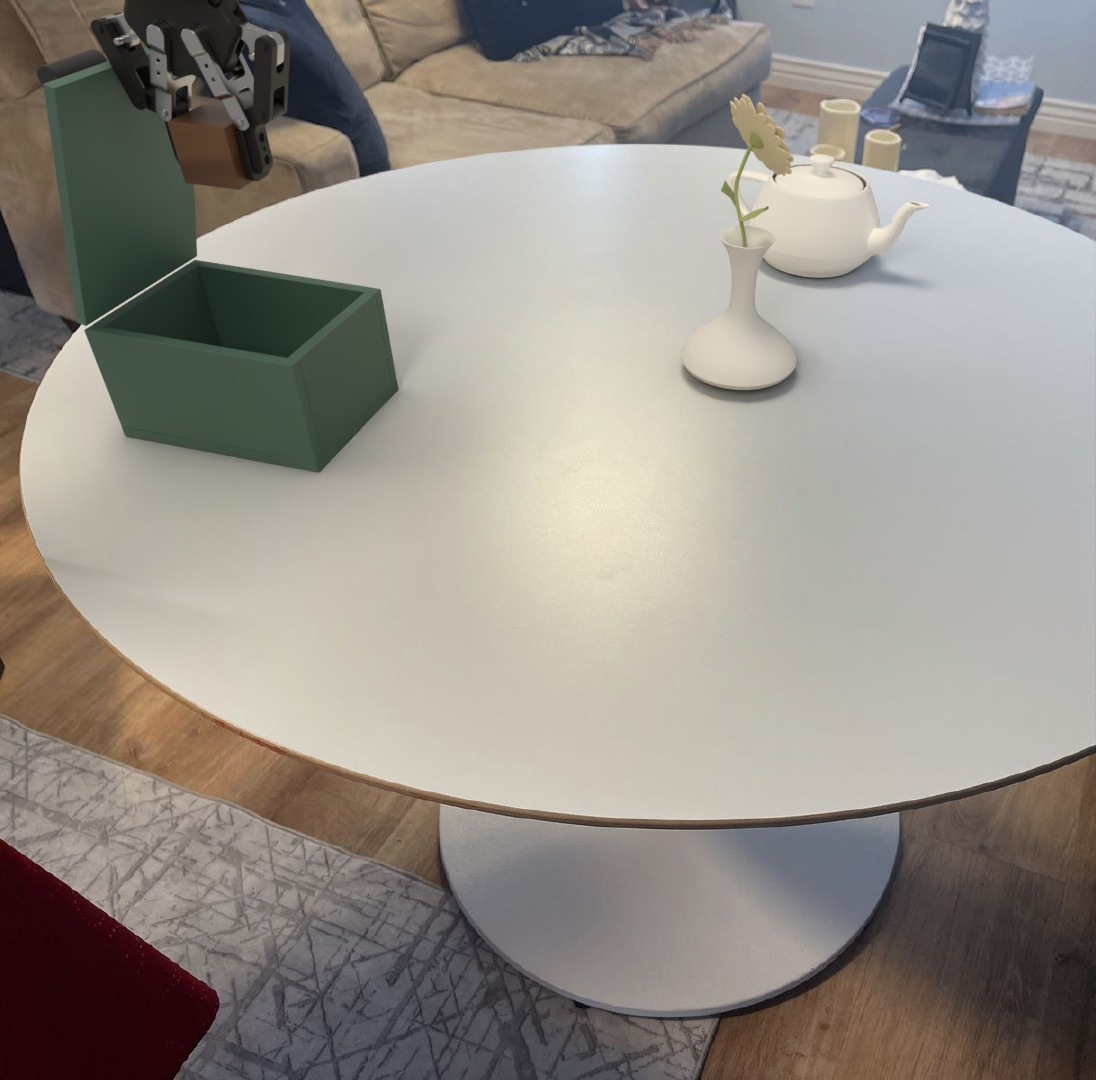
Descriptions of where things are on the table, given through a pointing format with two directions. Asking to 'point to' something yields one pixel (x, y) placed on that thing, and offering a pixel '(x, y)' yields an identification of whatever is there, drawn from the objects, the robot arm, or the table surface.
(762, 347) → the flower in vase
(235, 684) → the table surface
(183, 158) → the block
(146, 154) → the lid
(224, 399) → the box
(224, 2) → the robot arm
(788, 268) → the teapot
